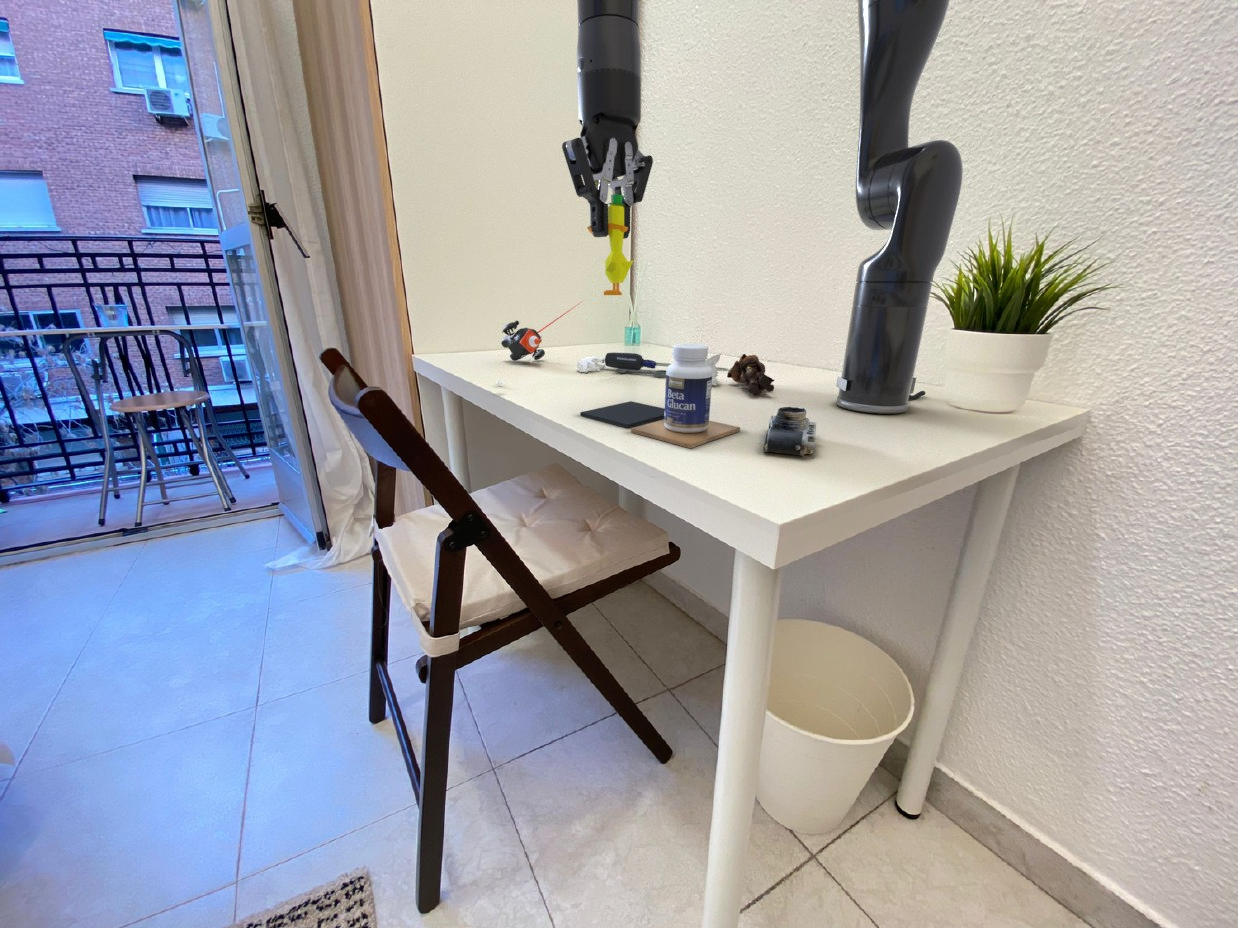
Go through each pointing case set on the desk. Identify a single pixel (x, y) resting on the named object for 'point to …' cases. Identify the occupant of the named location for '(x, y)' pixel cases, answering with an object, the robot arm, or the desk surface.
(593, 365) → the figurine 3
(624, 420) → the rubber mat
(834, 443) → the desk surface
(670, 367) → the pill bottle
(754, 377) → the figurine
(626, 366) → the screwdriver
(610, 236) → the toy figure
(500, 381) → the sphere
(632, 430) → the copper plate
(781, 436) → the camera
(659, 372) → the key
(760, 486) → the desk surface
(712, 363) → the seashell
